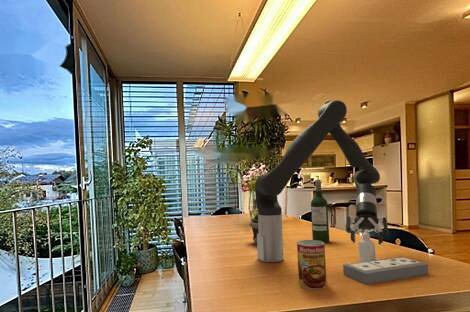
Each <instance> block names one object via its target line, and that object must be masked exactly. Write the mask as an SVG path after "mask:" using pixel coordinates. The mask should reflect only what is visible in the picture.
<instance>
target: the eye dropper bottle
mask: <svg viewBox="0 0 470 312" xmlns="http://www.w3.org/2000/svg"><path fill="white" fill-rule="evenodd" d="M363 231H364V232H363V233H362V239H361V240H359V241H358V256H359V257H358V258H359V263H360V262H367V261H374V260H377V258H376V255H377V253H376V245H375V242H373V241H372V240H371V235H370V233H369V231H368V230H367V229H366V230H363Z"/></svg>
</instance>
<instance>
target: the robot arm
mask: <svg viewBox="0 0 470 312" xmlns="http://www.w3.org/2000/svg"><path fill="white" fill-rule="evenodd" d="M347 108H348V107H347V105H346V104H345V103H344V101H341V100H338V99H337V100H332V101H329V102H327V103H325V104H323V105H322V106H320V107H319V109H318V111H317V117H318V118H317V119H316V120H315V121H314V122H313V123H311V125H309V126H307V128H305V129H303V130H302V131H301V132H300V133H299V134H298V135H297V136H296V137H295V138H294V139H293V140H292V141H291V142H290V144H289V145H288V147H287V149H286V150H285V153H284V154H283V157H282V158H281V161H280V162H278V163H277V165H276V166H275V167H274V168H273V169H272V170H271V171H270V172H268V173H266V172H265V173H262V174H259V176H258V177H257V178H256V180H255V183H254V184H255V185H254V193H255V205H256V208H257V213H258V227H259V234H257V244H256V248H257V249H256V250H257V259H258V260H259V261H261V262H262V263H278V262H282V261H284V243H283V242H284V240H283V239H284V238H283V237H284V235H283V214H282V207H281V205H280V203H279V201H278V200H279V198H278V196H279V195H280V194H281V193H282V192H283V191H284V189H285V188H286V186H287V185H288V183H289V182H290V180H291V179H292V178H293V176H294V175H295V174H296V172H297V171H298V170H299V169H301V168H302V166H303V165H304V164H305V162H306V161H308V160H309V158H311V156H312V155H313V153H314V152H315V151H316V150H317V149H318V147H319V146H320V145H321V143H323V141H324V140H325V139H326V137H327V136H328V135H329V134H330V135H331V138H333V139H334V141H335V143H336V144H337V146H339V148H340V150H341V152H342V153H343V155H344V157H345V159H346V160H347V162H348V164H349V166H350V167H351V168H353V169H354V168H362V169H361V170H358V171H356V172H355V173H353V176H352V180H353V183H354V185H355V187H356V202H355V217H354V218H353V217H350V216H347V217H346V220H345V222H346V223H345V232H346V233H347V234H349V233H350V240H351V242H352V243H353V244H355V243H356V233H357V232H359V231H360V230H363V231H365V230H367V231H372V230H373V231H374V233H377V237H378V238H377V239H378V240H377V241H378V245H382V244H383V243H384V238H383V236H384V235H385V236H387V235H389V228H388V221H387V220H388V219H387V218H386V217H383V218H378V203H377V196H376V193H377V192H376V187H375V186H374V185H373V184H377V183H378V182H379V181H380V179H381V173H380V172H379V171H378V170H377V168H376V167H375V166H374V165H373V164H372V162H370V161H369V160H368V158H366V156H365V155H364V153H363V151H362V149H361V147H360V145H359V144H358V142H357V141H355V140H354V138H353V137H351V136H350V135H349V134H348V133H347V132H346V131H345V130H344V128H343V127H342V126H341V122H343V120H344V119H345V118H346V116H347V112H348V109H347ZM353 223H355V224H354V225H353V226H352V227H351V225H352V224H353ZM379 223H380V224H381V225H382V226H383V229H382V228H381V227H380V226H379Z"/></svg>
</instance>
